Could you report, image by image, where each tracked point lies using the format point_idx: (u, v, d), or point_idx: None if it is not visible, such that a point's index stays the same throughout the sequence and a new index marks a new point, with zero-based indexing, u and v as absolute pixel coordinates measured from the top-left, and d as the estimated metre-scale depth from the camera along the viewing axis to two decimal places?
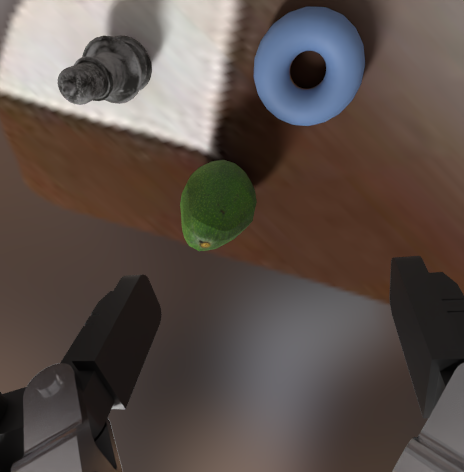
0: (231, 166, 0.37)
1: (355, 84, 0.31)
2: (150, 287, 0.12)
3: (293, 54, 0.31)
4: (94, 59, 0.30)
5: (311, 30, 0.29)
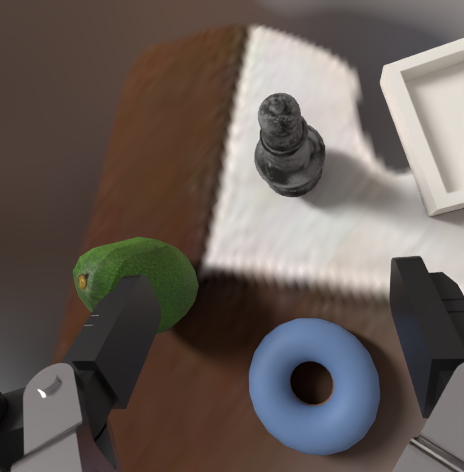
0: (192, 299, 0.29)
1: (304, 449, 0.26)
2: (150, 287, 0.12)
3: (329, 366, 0.27)
4: (306, 136, 0.26)
5: (358, 387, 0.25)
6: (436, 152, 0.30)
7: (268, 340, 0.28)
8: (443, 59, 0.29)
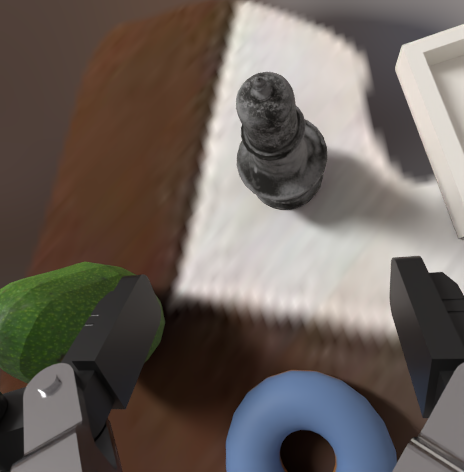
0: (154, 342, 0.23)
1: None
2: (150, 287, 0.12)
3: (330, 440, 0.20)
4: (302, 133, 0.19)
5: None
6: None
7: (251, 401, 0.21)
8: None
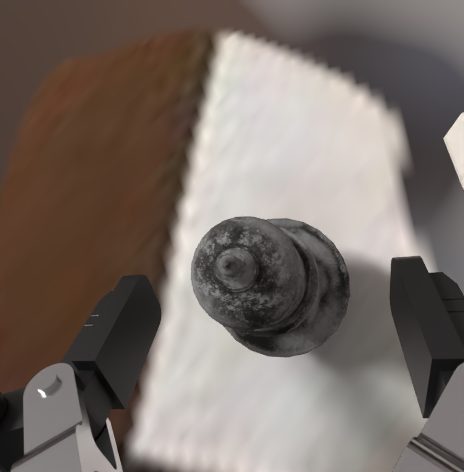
0: None
1: None
2: (150, 287, 0.12)
3: None
4: (313, 295, 0.11)
5: None
6: None
7: None
8: None
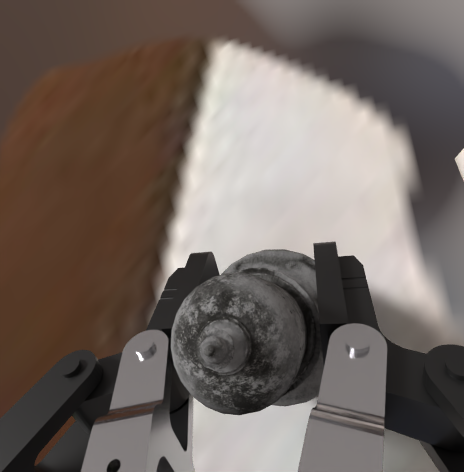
0: None
1: None
2: (215, 265, 0.13)
3: None
4: (316, 352, 0.10)
5: None
6: None
7: None
8: None
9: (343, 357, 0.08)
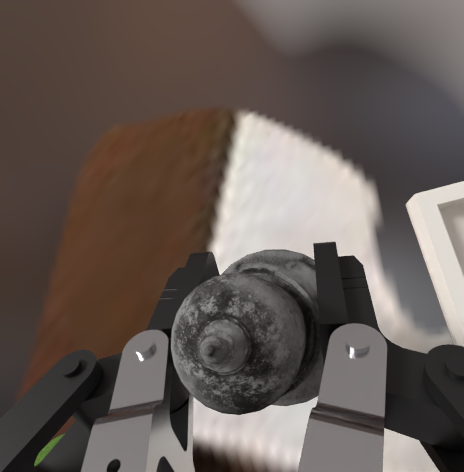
0: None
1: None
2: (215, 265, 0.13)
3: None
4: (316, 352, 0.10)
5: None
6: None
7: None
8: None
9: (343, 357, 0.08)
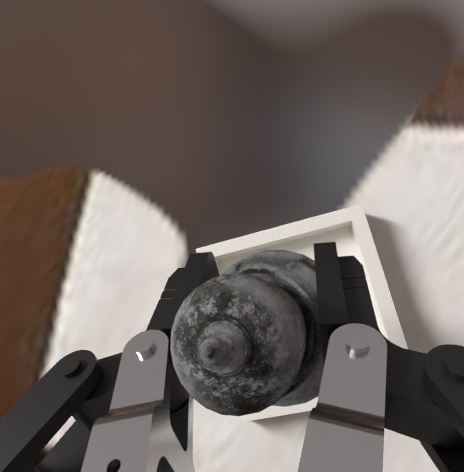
0: None
1: None
2: (215, 265, 0.13)
3: None
4: (316, 353, 0.10)
5: None
6: None
7: None
8: (253, 247, 0.28)
9: (343, 357, 0.08)
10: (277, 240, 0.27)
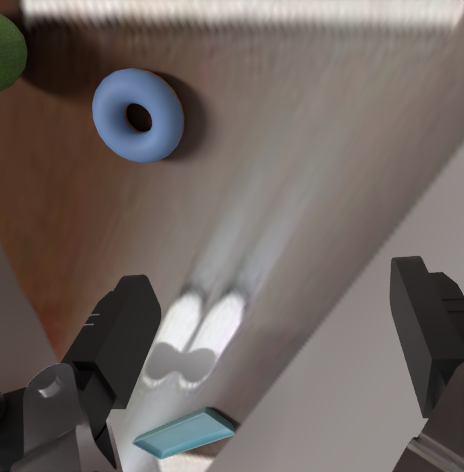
0: (19, 54, 0.34)
1: (140, 160, 0.40)
2: (150, 287, 0.12)
3: (142, 105, 0.37)
4: None
5: (161, 116, 0.36)
6: None
7: (96, 93, 0.36)
8: None
9: None
10: None
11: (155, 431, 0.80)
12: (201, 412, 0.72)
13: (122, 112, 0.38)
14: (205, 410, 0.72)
